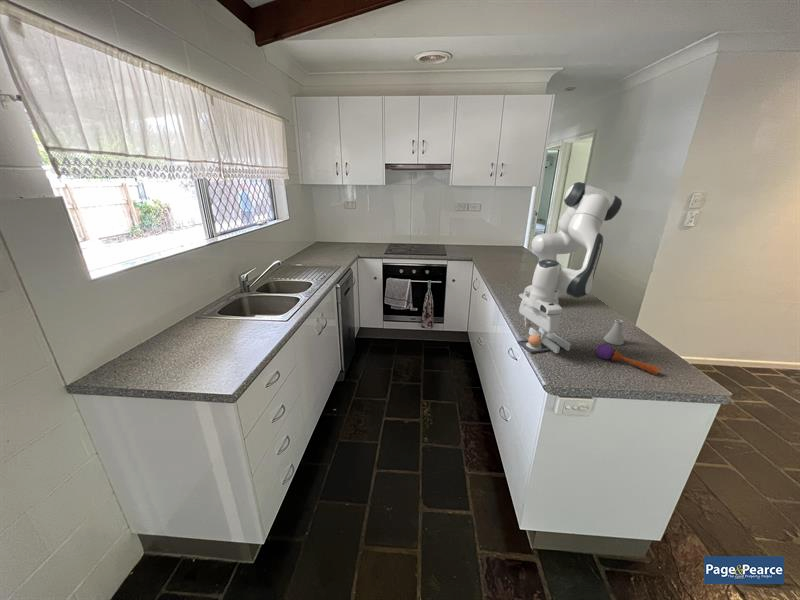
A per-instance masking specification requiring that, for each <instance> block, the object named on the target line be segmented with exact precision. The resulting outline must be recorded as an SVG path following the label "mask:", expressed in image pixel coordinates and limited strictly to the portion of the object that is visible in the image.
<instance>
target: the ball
mask: <svg viewBox="0 0 800 600" xmlns="http://www.w3.org/2000/svg"><path fill="white" fill-rule="evenodd" d="M527 340H528V342H529V344H530V345H532V346H539V345H540V344H541V338H540V337H539V335H537V334H532V335H529V337H528V338H527Z"/></svg>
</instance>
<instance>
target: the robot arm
mask: <svg viewBox="0 0 800 600" xmlns="http://www.w3.org/2000/svg"><path fill="white" fill-rule="evenodd" d="M563 201H564V204H565V205H566V206H567V208H566V209H565V211H564V212H563V214H562V215H561V217H560V218H559V219H558V221H557V225H558V228H559V231H557V232H546V233H545V232H544V233H540V234H538V235H537V234H536V235H535V236H534V237H533V238H532V240H531V244H530V246H531V249H532V251H533V253H534V254H536V256H537V258H538V263H537V264H536V266H535V269H534V273H533V277H532V281H531V282H532V284H530V285H527V286H526V287H525V288H524V291H523V293H519V294H518V296H519V297H520V299H522V300H521V302H520V305H519V308H518V312H519V315H521V316H523V318H524V319H523V321H524V328H527V329H530V328H532V327H531V326H532V324H531V323H533V324H535V325H536V326H537V327H538V328H539V327H540V328H542V331H543V333H540V336H539V337H540V338H541V339H545V337H546V335H547V334H548V333H554V334H556V333H557V332H558V331H559V328H560V323H561V315H560V314H562V312H563V308H562V307H561V305H560V304H559V302H560V301H559V296H560V295H559V293H563V294H566V295H568V296H570V297H573V298H576V299H579V298H582V297H585V296H587V295H589V294H590V292H591V290H592V287H593V283H594V278H595V274H596V270H597V267H598V263H599V260H600V256H601V253H602V250H603V245H604V237H603V235H602V234H601V231H600V230H601V227H602V225H603V223H604V222H605V221H606V222H607V221H610V220H612V219H613V218H615V217H616V216H617V215H618V214H619V212H620V210H621V207H622V205H623V202H622V199H621V198H620V197H618V196H617V195H613V193H612V194H611V192H609V191H606V190H604V189H601V188H599V187H596V186H592V185H590V184H586V182H581V181H580V182H578V181H577V182H575V183H573V184H572V185H571V186H570V187H568V189H567V190H566V193H564V199H563ZM580 245H581V246H582V247H584V248H585V249H586V254H585V257H584V260H583V262H582V266H581V268H580V269H578V270H577V269H573V268H569V267H565V266H563V265H562V264H561V263H560V262H559V261H557V255H567V254H571V253H574V252H576V251H578V250H579V247H581V246H580ZM546 338H547V337H546Z"/></svg>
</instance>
